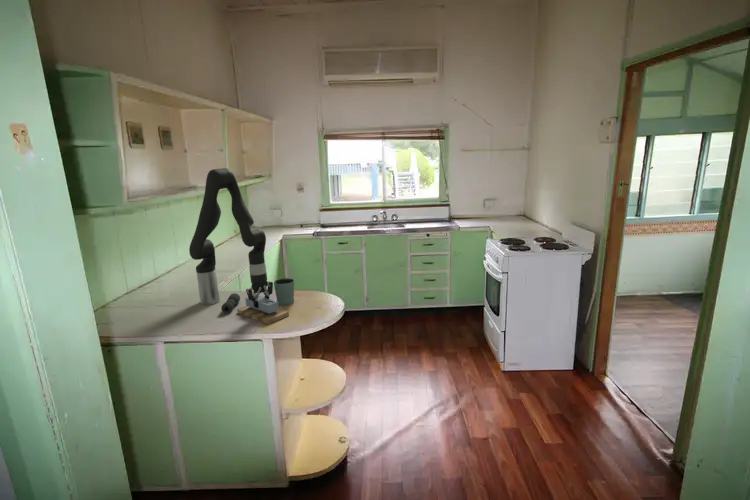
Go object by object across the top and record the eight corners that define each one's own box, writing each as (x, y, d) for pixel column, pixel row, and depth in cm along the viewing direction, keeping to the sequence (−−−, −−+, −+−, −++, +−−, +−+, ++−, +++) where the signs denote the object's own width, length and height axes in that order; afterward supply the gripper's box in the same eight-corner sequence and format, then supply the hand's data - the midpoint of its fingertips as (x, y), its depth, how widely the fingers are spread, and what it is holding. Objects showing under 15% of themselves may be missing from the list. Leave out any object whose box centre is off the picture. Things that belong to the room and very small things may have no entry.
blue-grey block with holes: (246, 305, 199) (245, 297, 198) (255, 302, 203) (254, 294, 202) (269, 313, 188) (268, 305, 187) (278, 309, 192) (278, 301, 191)
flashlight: (232, 314, 199) (231, 303, 197) (221, 314, 198) (219, 304, 197) (240, 302, 214) (239, 292, 212) (230, 302, 213) (229, 293, 212)
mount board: (237, 313, 199) (235, 299, 197) (258, 305, 208) (256, 292, 206) (268, 324, 185) (266, 310, 183) (289, 315, 194) (287, 301, 192)
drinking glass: (272, 303, 210) (269, 281, 207) (288, 298, 217) (286, 276, 214) (283, 308, 203) (280, 285, 200) (300, 302, 210) (298, 280, 207)
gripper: (265, 267, 199) (269, 299, 203) (240, 274, 188) (244, 309, 192) (275, 269, 194) (278, 302, 198) (250, 277, 183) (254, 312, 188)
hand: (261, 305), depth 195 cm, fingers closed on blue-grey block with holes, 5 cm apart
